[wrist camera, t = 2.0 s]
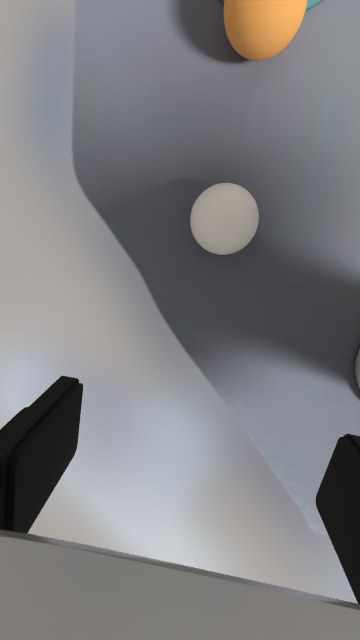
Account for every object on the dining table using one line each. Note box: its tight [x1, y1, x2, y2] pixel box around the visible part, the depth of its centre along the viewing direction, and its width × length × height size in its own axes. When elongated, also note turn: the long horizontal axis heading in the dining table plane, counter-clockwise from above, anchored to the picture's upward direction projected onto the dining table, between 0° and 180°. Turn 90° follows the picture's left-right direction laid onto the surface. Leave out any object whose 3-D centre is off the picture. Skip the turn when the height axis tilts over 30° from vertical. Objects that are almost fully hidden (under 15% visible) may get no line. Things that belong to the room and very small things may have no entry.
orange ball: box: [224, 0, 307, 61], centre depth 20 cm, size 6×6×6 cm
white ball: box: [190, 183, 259, 255], centre depth 23 cm, size 6×6×6 cm
